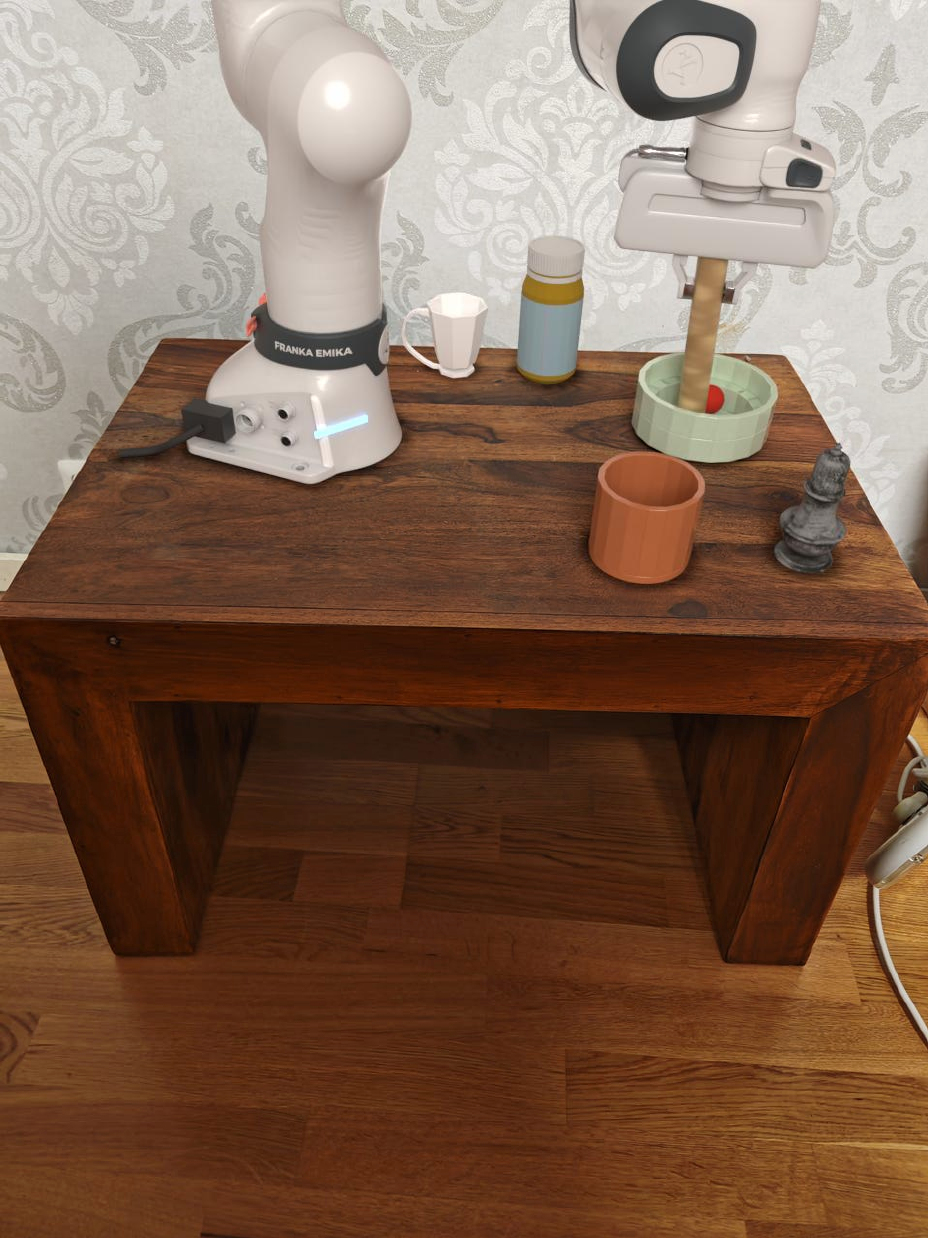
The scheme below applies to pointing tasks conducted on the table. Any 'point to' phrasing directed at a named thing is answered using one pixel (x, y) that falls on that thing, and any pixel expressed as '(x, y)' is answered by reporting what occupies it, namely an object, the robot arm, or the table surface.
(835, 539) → the grey chess piece
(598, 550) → the crock
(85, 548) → the table surface
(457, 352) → the cup
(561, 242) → the bottle
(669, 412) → the bowl
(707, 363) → the stick
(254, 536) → the table surface
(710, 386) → the ball
